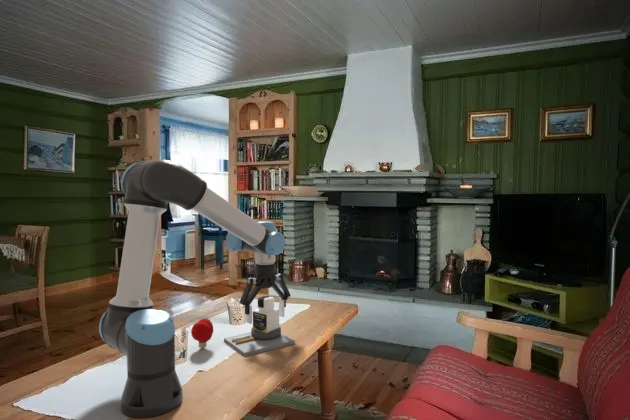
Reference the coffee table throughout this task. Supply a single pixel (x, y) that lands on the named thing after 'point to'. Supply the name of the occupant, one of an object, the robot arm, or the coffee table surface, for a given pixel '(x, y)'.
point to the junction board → (256, 343)
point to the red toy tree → (202, 332)
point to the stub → (266, 334)
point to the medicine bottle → (265, 315)
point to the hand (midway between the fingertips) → (266, 319)
